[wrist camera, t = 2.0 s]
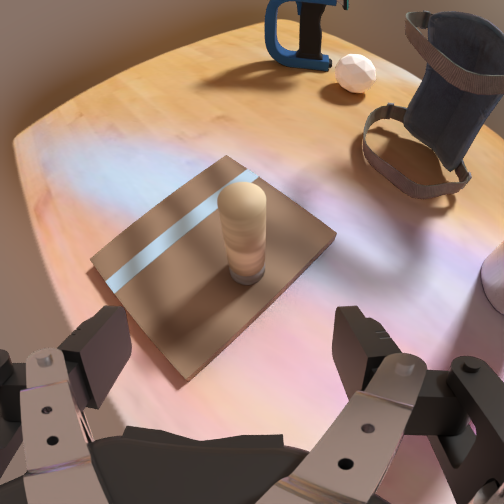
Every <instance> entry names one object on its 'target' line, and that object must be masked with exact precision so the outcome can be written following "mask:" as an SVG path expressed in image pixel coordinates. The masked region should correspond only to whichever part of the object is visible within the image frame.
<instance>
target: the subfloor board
mask: <svg viewBox="0 0 504 504" xmlns="http://www.w3.org/2000/svg"><path fill="white" fill-rule="evenodd" d="M236 182H249V183H253V184H255V185H257V186H259V187H260V188H261V189H262V190H263V191H264V193H265V195H266V247H265V273H264V276H263V277H262V279H261V280H260V281H258V282H257V283H255V284H252V285H242V284H239V283H237V282H236V281H235V280H234V279H233V278H232V277H231V274H230V270H229V265H228V259H227V254H226V249H225V243H224V238H223V233H222V227H221V222H220V216H219V211H218V205H217V198H218V195H219V193H220V192H221V191H222V190H223V189H224V188H225V187H226V186H228V185H230V184H232V183H236ZM336 234H337V233H336V232H335V231H334V230H332V229H331V228H330V227H328V226H327V225H326V224H324V223H323V222H322V221H320V220H319V219H317V218H316V217H315V216H313V215H312V214H311V213H309V212H308V211H307V210H305V209H304V208H302V207H301V206H300V205H298V204H297V203H295V202H294V201H293V200H291V199H290V198H288V197H287V196H286V195H284V194H283V193H281V192H280V191H278V190H277V189H276V188H274V187H273V186H271V185H270V184H268V183H267V182H266V181H264V180H263V179H261V178H260V177H259V176H257V175H256V174H254V173H253V172H251V171H250V170H248V169H247V168H245V167H244V166H242V165H241V164H239V163H238V162H236V161H235V160H233V159H232V158H230V157H229V156H227V155H226V156H224V157H223V158H221V159H220V160H218V161H217V162H215V163H214V164H213V165H211V166H210V167H208V168H207V169H205V170H204V171H203V172H201V173H200V174H198V175H197V176H195V177H194V178H193V179H191V180H190V181H188V182H187V183H186V184H184V185H183V186H182V187H180V188H179V189H177V190H176V191H175V192H173V193H172V194H171V195H169V196H168V197H167V198H165V199H164V200H163V201H161V202H160V203H159V204H157V205H156V206H155V207H153V208H152V209H151V210H150V211H148V212H147V213H146V214H144V215H143V216H142V217H141V218H139V219H138V220H137V221H135V222H134V223H133V224H132V225H130V226H129V227H128V228H127V229H125V230H124V231H123V232H122V233H120V234H119V235H118V236H117V237H116V238H114V239H113V240H112V241H111V242H110V243H108V244H107V245H106V246H105V247H104V248H102V249H101V250H100V251H99V252H98V253H96V254H95V255H94V256H93V257H92V258H91V259H90V260H91V262H92V263H93V265H94V266H95V268H96V269H97V271H98V272H99V273H100V275H101V276H102V278H103V279H104V280H105V282H106V283H107V285H108V286H109V287H110V289H111V290H112V291H113V293H114V294H115V295H116V297H117V298H118V299H119V301H120V302H121V303H122V305H123V306H124V307H125V308H126V310H127V311H128V312H129V314H130V315H131V316H132V317H133V319H134V320H135V321H136V322H137V324H138V325H139V326H140V327H141V329H142V330H143V331H144V332H145V334H146V335H147V336H148V337H149V338H150V340H151V341H152V342H153V343H154V344H155V345H156V347H157V348H158V349H159V350H160V351H161V352H162V354H163V355H164V356H165V357H166V358H167V359H168V361H169V362H170V363H171V364H172V365H173V366H174V367H175V368H176V370H177V371H178V372H179V373H180V374H181V375H182V376H183V377H184V378H185V379H186V380H187V381H190V380H191V379H192V378H193V377H195V376H196V375H197V374H198V373H199V372H200V371H201V370H202V369H203V368H204V367H206V366H207V365H208V364H209V363H210V362H211V361H212V360H213V359H214V358H215V357H216V356H217V355H219V354H220V353H221V352H222V351H223V350H224V349H225V348H226V347H227V346H228V345H229V344H230V343H231V342H232V341H233V340H235V339H236V338H237V337H238V336H239V335H240V334H241V333H242V332H243V331H244V330H245V329H246V328H247V327H248V326H249V325H250V324H251V323H252V322H253V321H254V320H255V319H257V318H258V317H259V316H260V315H261V314H262V313H263V312H264V311H265V310H266V309H267V308H268V307H269V306H270V305H271V304H272V303H273V302H274V301H275V300H276V299H277V298H278V297H279V296H280V295H281V294H282V293H283V292H284V291H285V290H286V289H287V288H288V287H289V286H290V285H291V284H292V283H293V282H294V281H295V280H296V279H297V278H298V277H299V276H300V275H301V274H302V273H303V272H304V271H305V270H306V269H307V268H308V267H309V266H310V265H311V264H312V263H313V262H314V261H315V260H316V259H317V258H318V257H319V256H320V255H321V254H322V253H323V251H324V250H325V249H326V248H327V247H328V246H329V245H330V244H331V243H332V242H333V241H334V240H335V237H336Z"/></svg>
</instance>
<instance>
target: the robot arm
mask: <svg viewBox="0 0 504 504" xmlns="http://www.w3.org/2000/svg"><path fill="white" fill-rule="evenodd" d="M481 279H482V285H483V288H484V291H485V293H486V296H487V298H488V299H489V301H490V303H491V304H492V305H493V306H494V308H495V309H496V310H498V311H499V312H500V313H502V314H504V241H503V242H502V243H501V244H500V245H499V246H498V247H497V248H496V249H495V250H494V251H493V252H492V253H491V254H490V255H489V256H488V257H487V258H486V259H485V261H484V263H483V265H482V270H481ZM131 351H132V343H131V338H130V333H129V328H128V322H127V317H126V312H125V309H124V308H123V307H122V306H104V307H102V308H101V309H100V310H99V311H98V312H97V313H96V314H95V315H94V316H93V317H92V318H90V319H88V320H86V321H84V322H83V323H81V324H80V325H79V326H78V327H77V330H74V331H73V332H72V334H71V335H69V336H68V338H66V340H65V341H64V342H63V343H61V345H60V346H59V347H58V348H57V349H56V348H44V349H40V350H38V351H36V352H33V353H32V354H31V355H29V357H28V358H27V360H26V363H12V362H11V359H10V356H9V353H8V352H7V351H5V350H1V349H0V478H1V477H2V475H3V473H4V471H5V470H6V468H7V466H8V465H9V463H10V461H11V460H12V458H13V456H14V455H15V453H16V451H17V450H18V448H19V446H20V445H21V443H22V441H23V442H24V451H25V458H26V465H27V472H26V473H25V474H24V475H23V476H20V477H18V478H16V479H14V480H11V481H9V482H7V483H4V484H2V485H0V504H391V503H389V502H388V501H386V500H384V499H383V498H381V497H380V496H378V495H376V492H377V490H378V488H379V486H380V484H381V483H382V481H383V479H384V477H385V475H386V473H387V471H388V469H389V467H390V465H391V463H392V460H393V458H394V456H395V454H396V452H397V450H398V448H399V445H400V443H401V441H402V439H403V436H404V435H427V437H428V439H429V441H430V443H431V446H432V448H433V450H434V452H435V454H436V457H437V459H438V461H439V463H440V465H441V468H442V470H443V472H444V475H445V477H446V479H447V482H448V484H449V486H450V489H451V491H452V493H453V496H454V498H455V501H456V503H457V504H504V382H503V381H502V380H501V379H500V378H499V377H498V376H497V374H496V373H495V372H494V371H493V370H492V369H491V368H490V367H489V365H488V364H487V363H485V362H484V361H482V360H481V359H478V358H475V357H471V356H461V357H458V358H456V359H454V360H453V361H452V363H451V366H450V369H449V371H440V370H427V366H426V363H425V362H424V361H423V360H422V359H421V358H419V357H417V356H415V355H412V354H407V353H402V352H401V350H400V349H399V348H398V346H397V345H396V344H395V342H394V341H393V340H392V338H390V336H389V334H388V333H387V332H386V330H385V329H384V328H383V326H382V325H381V324H380V323H379V322H377V321H376V320H374V319H372V318H365V316H364V315H363V313H362V312H361V311H360V309H359V308H358V306H342V307H337V308H336V312H335V322H334V332H333V341H332V355H333V360H334V363H335V365H336V368H337V370H338V373H339V376H340V378H341V381H342V383H343V386H344V389H345V391H346V394H347V397H348V399H349V402H348V403H347V405H346V406H345V407H344V409H343V410H342V412H341V413H340V414H339V416H338V417H337V418H336V420H335V421H334V422H333V424H332V425H331V426H330V428H329V429H328V430H327V432H326V433H325V434H324V435H323V437H322V438H321V439H320V440H319V442H318V443H317V444H316V445H315V447H314V448H313V449H312V450H311V452H309V451H306V450H303V449H299V448H295V447H291V446H285V445H284V442H283V434H280V435H240V436H234V437H228V438H221V439H214V440H206V441H198V440H193V439H190V438H186V437H183V436H179V435H176V434H172V433H169V432H166V431H163V430H155V429H147V428H140V427H133V426H126V429H125V431H124V433H123V436H114V437H107V438H103V439H99V440H96V441H94V438H93V435H92V433H91V430H90V427H89V424H88V421H87V419H86V416H85V413H84V411H83V410H84V408H85V407H88V408H94V409H99V408H100V406H101V405H102V403H103V401H104V399H105V398H106V396H107V394H108V393H109V391H110V389H111V388H112V386H113V384H114V383H115V381H116V379H117V378H118V376H119V374H120V373H121V371H122V369H123V368H124V366H125V364H126V363H127V361H128V360H129V358H130V356H131ZM470 420H472V422H473V423H474V425H475V427H476V435H475V434H474V432H473V430H472V429H471V427H470V425H469V422H470Z"/></svg>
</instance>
